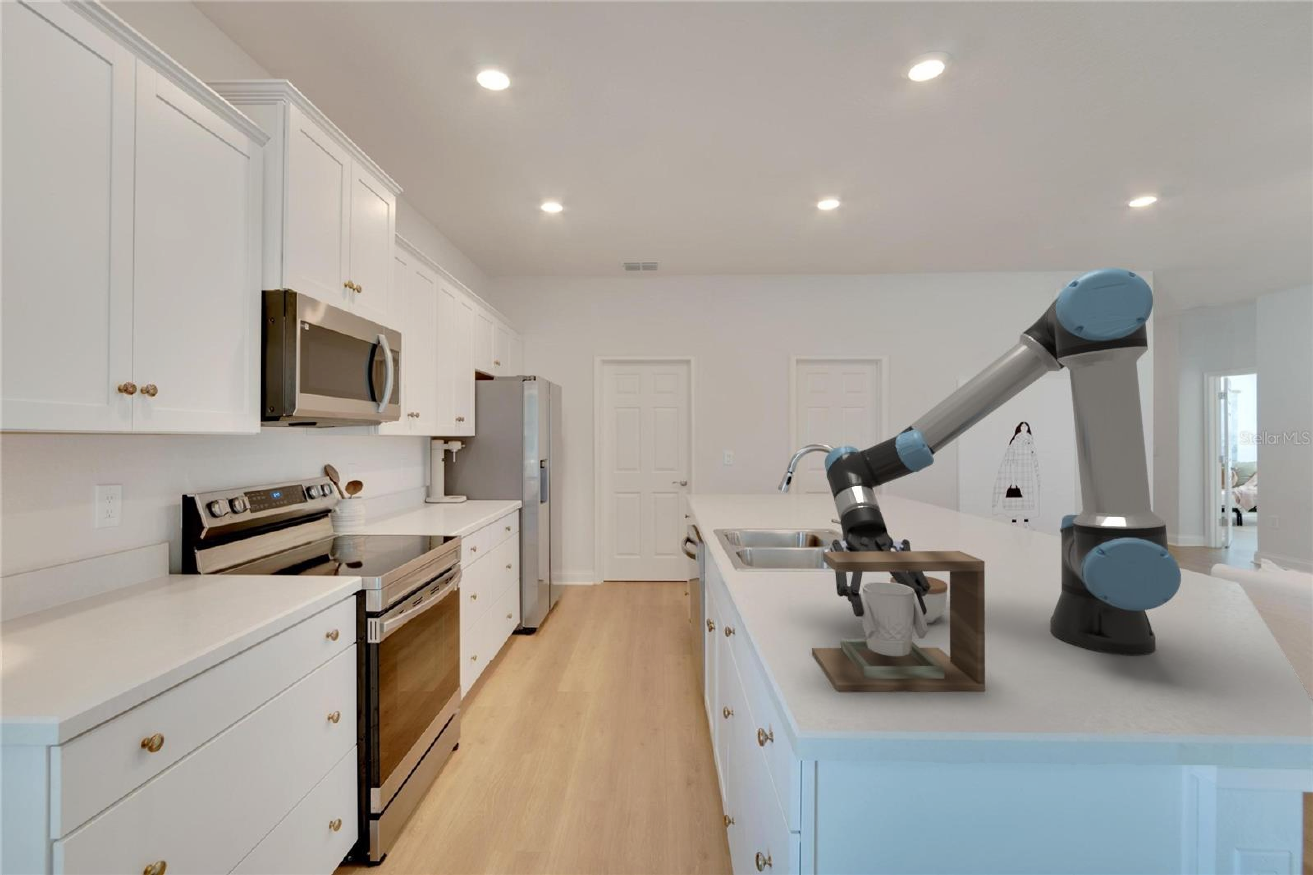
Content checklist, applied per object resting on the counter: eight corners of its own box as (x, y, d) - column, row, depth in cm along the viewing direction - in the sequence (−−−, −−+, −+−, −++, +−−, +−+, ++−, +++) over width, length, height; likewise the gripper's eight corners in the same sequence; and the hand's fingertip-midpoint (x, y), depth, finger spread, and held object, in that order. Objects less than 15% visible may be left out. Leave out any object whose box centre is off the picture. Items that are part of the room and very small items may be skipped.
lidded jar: (949, 615, 115) (949, 571, 115) (945, 631, 106) (945, 583, 106) (895, 607, 121) (894, 564, 121) (886, 621, 112) (886, 575, 112)
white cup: (914, 643, 92) (914, 584, 92) (915, 661, 85) (914, 597, 85) (864, 636, 95) (864, 579, 95) (861, 653, 88) (860, 591, 88)
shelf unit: (937, 653, 96) (937, 542, 96) (984, 691, 82) (984, 561, 82) (812, 653, 96) (811, 543, 96) (837, 691, 82) (836, 562, 82)
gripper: (908, 528, 105) (953, 644, 89) (801, 528, 105) (827, 645, 89) (921, 504, 100) (972, 623, 84) (809, 505, 100) (837, 624, 84)
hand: (897, 634), depth 86 cm, fingers closed on white cup, 8 cm apart
